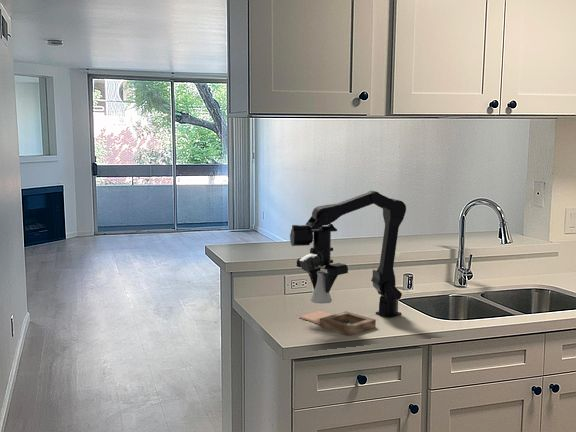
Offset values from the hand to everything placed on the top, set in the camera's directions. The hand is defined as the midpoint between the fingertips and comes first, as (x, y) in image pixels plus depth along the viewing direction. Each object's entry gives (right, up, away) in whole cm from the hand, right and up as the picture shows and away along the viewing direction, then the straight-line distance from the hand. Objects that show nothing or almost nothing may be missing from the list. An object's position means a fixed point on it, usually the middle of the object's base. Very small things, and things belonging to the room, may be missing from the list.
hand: (321, 291), depth 204 cm
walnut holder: (+8, -11, -8) cm, 15 cm away
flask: (0, -4, 0) cm, 4 cm away
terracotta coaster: (0, -9, +1) cm, 9 cm away
